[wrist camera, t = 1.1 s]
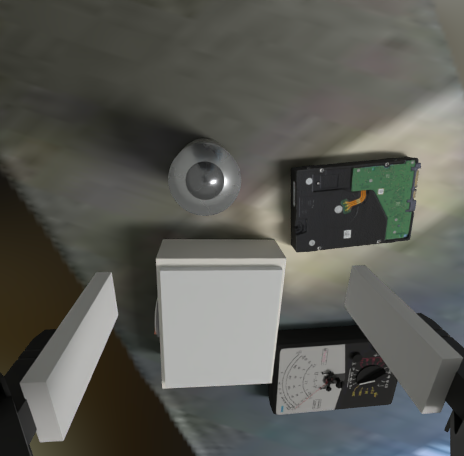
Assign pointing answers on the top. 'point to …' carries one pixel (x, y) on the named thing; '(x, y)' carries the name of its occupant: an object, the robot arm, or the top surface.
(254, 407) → the top surface
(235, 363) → the scale
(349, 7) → the top surface
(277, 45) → the top surface
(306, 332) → the multimeter
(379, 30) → the top surface
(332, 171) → the disk drive
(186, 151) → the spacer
